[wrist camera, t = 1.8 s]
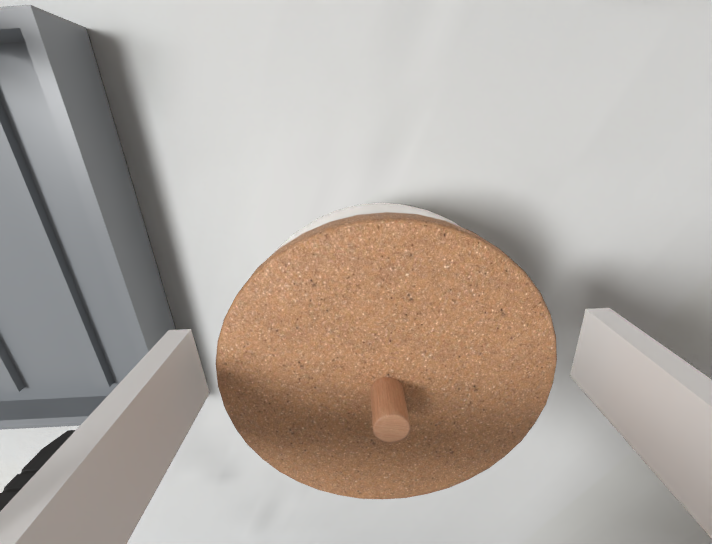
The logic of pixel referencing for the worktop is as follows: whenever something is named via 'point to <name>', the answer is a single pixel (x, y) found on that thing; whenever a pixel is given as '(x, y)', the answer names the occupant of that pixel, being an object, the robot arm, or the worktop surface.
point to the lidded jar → (385, 354)
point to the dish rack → (66, 232)
